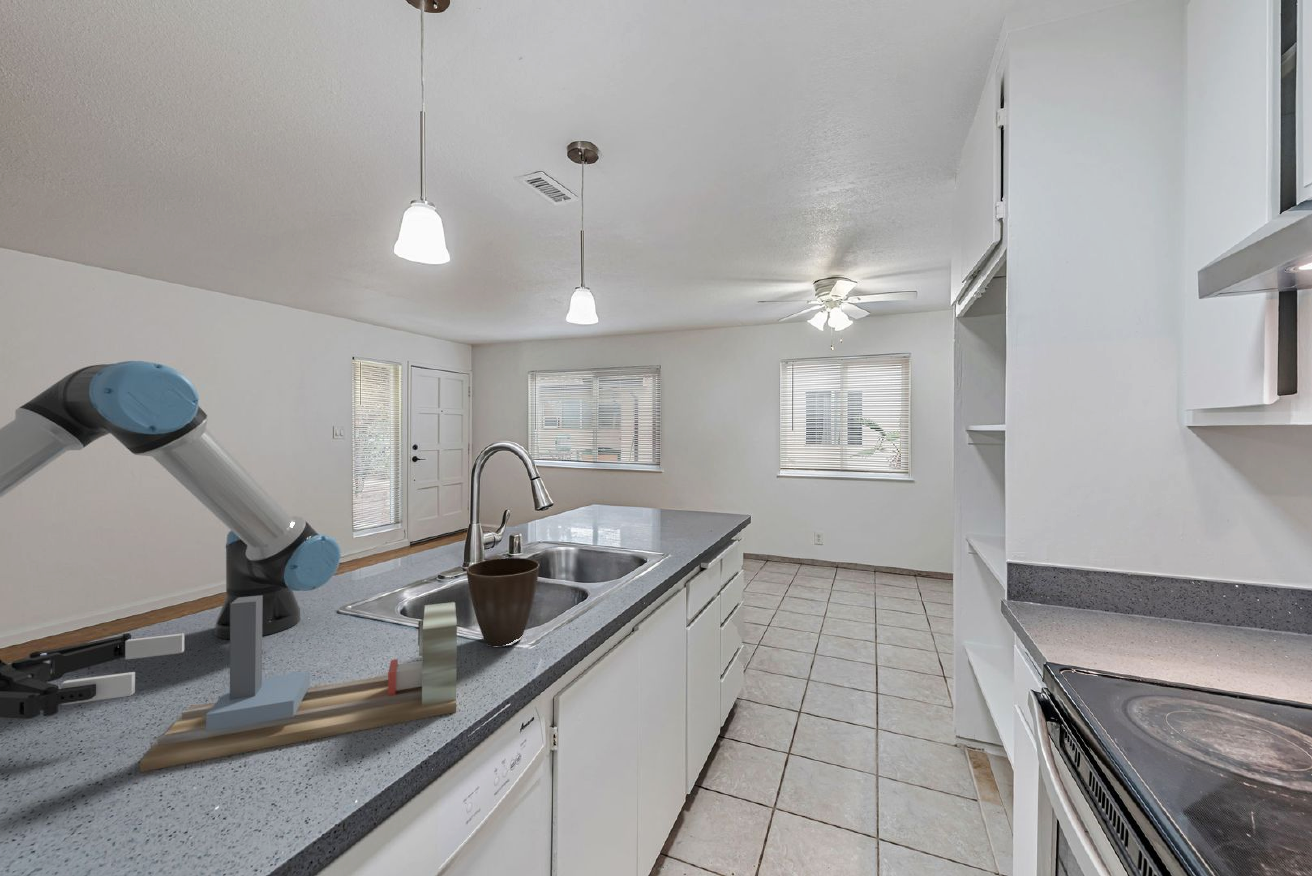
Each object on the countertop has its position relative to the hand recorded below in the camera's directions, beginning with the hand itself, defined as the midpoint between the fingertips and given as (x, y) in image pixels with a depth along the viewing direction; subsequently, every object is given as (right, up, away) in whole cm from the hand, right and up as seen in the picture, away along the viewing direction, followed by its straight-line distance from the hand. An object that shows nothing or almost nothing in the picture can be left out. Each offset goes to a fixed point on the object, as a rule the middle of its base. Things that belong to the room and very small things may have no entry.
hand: (160, 661), depth 71 cm
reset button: (+30, -10, +13) cm, 34 cm away
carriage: (+11, -9, +5) cm, 15 cm away
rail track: (+18, -12, +8) cm, 23 cm away
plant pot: (+37, -12, +37) cm, 54 cm away
